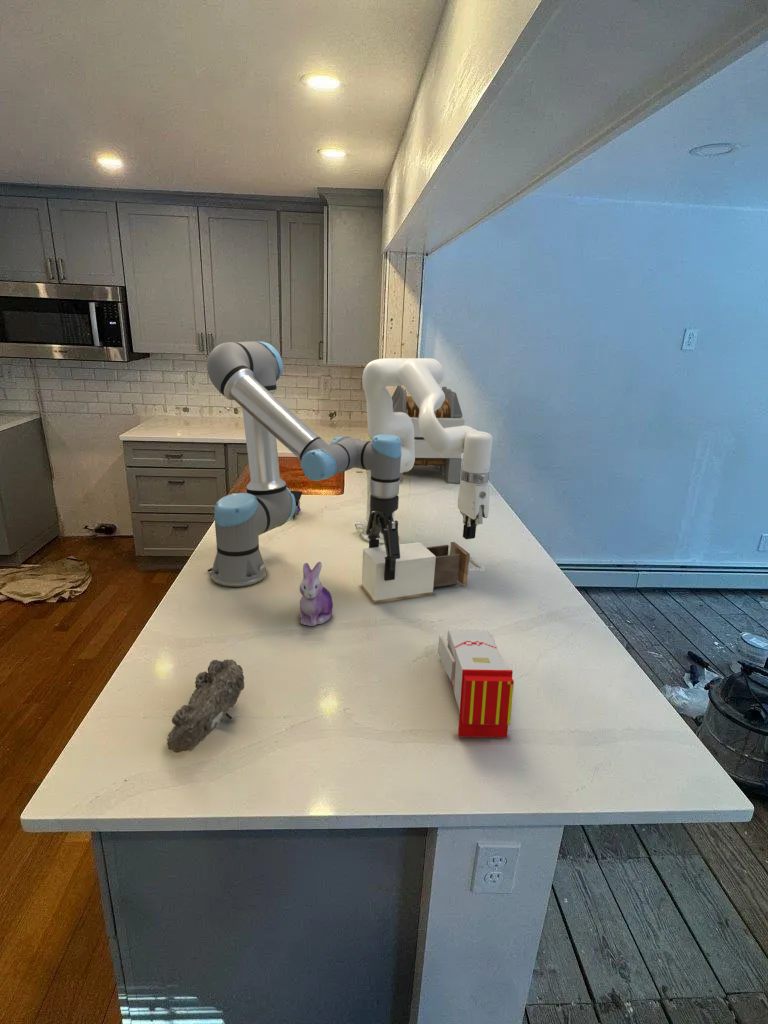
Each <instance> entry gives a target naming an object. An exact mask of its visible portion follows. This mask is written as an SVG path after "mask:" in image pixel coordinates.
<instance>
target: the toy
mask: <svg viewBox="0 0 768 1024" xmlns="http://www.w3.org/2000/svg"><path fill="white" fill-rule="evenodd" d="M446 640H447V643H446V641H445V639H444V636H443V635H442V634H439V637H438V646H437V656H438V657H439V659H440V661H441V663H442V666H443V668H444V670H445V672H446V674H447V677H448V679H449V681H450V684H451V687H452V690H453V693H454V697H455V701H456V705H457V708H458V711H459V714H458V715H459V716H458V730H457V731H458V732H457V737H458V738H508V731H509V726H510V725H511V717H512V707H513V697H514V696H513V695H514V684H515V680H514V679H513V673H514V671H513V670H512V669H508V667H507V665H506V662H505V661H504V659H503V658H502V655H501V653H500V651H499V649H498V647H497V643H496V639H495V637H494V635H493V634H491V632H490V631H489V629H467V628H466V629H465V628H463V629H461V628H460V629H459V628H448V630H447V639H446Z"/></svg>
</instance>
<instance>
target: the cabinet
mask: <svg viewBox="0 0 768 1024" xmlns="http://www.w3.org/2000/svg"><path fill="white" fill-rule="evenodd" d="M399 549H400V559H396V565H395V580H388V581H385V580H384V575H385V557H387V554H386V548H385V545H381V546H379V547H374V548H369V547H367V548H362V563H361V565H362V569H361V570H362V571H361V588H362V589H363V590H364V592H365V593H366V594H367V596H368V597H369V598H370V600H371V601H372V602H373V603H374V604H381V603H382V604H383V603H388V602H394V601H401V600H406V599H412V598H419V597H426V596H432V595H433V594H434V587H433V585H434V572H435V559H436V556H435V555H434V554H433V553H431V552H430V551H429V550H428V549H427V548H426V546H425V545H423V543H421V542H420V541H417V542H408V543H401V544H400V543H399Z"/></svg>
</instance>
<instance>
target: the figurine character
mask: <svg viewBox="0 0 768 1024" xmlns="http://www.w3.org/2000/svg"><path fill="white" fill-rule="evenodd" d="M291 493H292V494H293V495H294V497H295V502H296V508H295V512H294V515H293V516H292V520H295V518H296V516H298V515H299V512H301V511H302V509H301V501H300V500H301V497H302V495H303V491H302V490H301V491H299V490H291Z"/></svg>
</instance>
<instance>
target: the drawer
mask: <svg viewBox="0 0 768 1024" xmlns="http://www.w3.org/2000/svg"><path fill="white" fill-rule="evenodd" d="M425 547H426V546H425ZM449 547H450V548H449ZM426 548H427V549H428V550H429V551H430V552H431V553H433V554H434V555H435V556H436V559H435V572H434V585H433V588H438V587H445V586H451V585H457V584H458V582H459V583H460V584H461V585H462V586H467V585H468V577H469V572H473V571H480V572H483V571H485V566H484V565H482V563H480V562H478V560H476V559H475V558H474V557H473V556H471V553H469V552H468V551H467V550H465V549H464V548H463V547H462V546H460V545H459V544H458V543H457V542H456V541H451V542H450V546H449V544H442V545H434V546H427V547H426ZM470 564H471V565H472V566H474V567H471V568H469V566H470Z"/></svg>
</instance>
